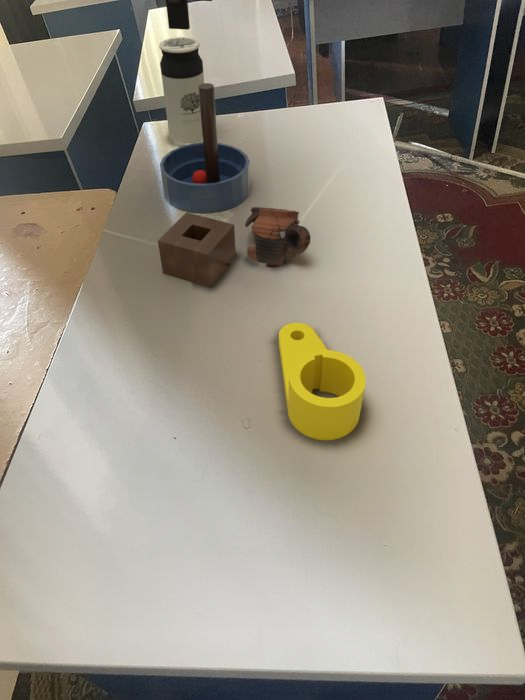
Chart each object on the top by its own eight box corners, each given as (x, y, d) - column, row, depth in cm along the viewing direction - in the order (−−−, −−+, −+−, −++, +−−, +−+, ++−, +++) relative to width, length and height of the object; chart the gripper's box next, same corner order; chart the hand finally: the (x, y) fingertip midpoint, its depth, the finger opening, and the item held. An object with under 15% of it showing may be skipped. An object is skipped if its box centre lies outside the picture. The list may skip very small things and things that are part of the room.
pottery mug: (229, 259, 89) (233, 205, 86) (267, 257, 96) (272, 207, 94) (291, 270, 81) (297, 211, 79) (327, 268, 89) (333, 214, 86)
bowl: (148, 205, 99) (142, 173, 95) (191, 166, 109) (188, 136, 104) (225, 225, 94) (223, 193, 90) (263, 183, 104) (263, 151, 100)
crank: (369, 432, 65) (377, 398, 60) (299, 446, 63) (301, 413, 59) (321, 327, 77) (325, 292, 73) (261, 337, 76) (261, 303, 71)
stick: (204, 191, 100) (195, 86, 88) (212, 185, 102) (204, 81, 89) (215, 195, 100) (207, 90, 87) (223, 189, 101) (216, 84, 88)
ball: (186, 177, 101) (194, 167, 99) (198, 175, 103) (206, 165, 101) (194, 192, 101) (203, 182, 98) (206, 189, 103) (215, 179, 101)
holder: (162, 274, 85) (157, 240, 81) (189, 244, 91) (186, 212, 86) (211, 288, 83) (207, 254, 79) (236, 257, 88) (234, 224, 84)
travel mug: (168, 131, 119) (156, 37, 106) (206, 128, 120) (198, 35, 107) (171, 148, 114) (158, 52, 101) (210, 145, 115) (203, 49, 102)
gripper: (177, -187, 57) (196, 43, 72) (228, -197, 74) (235, -9, 89) (105, -187, 58) (139, 40, 73) (172, -197, 75) (188, -11, 90)
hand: (192, 13), depth 81 cm, fingers open, 13 cm apart
